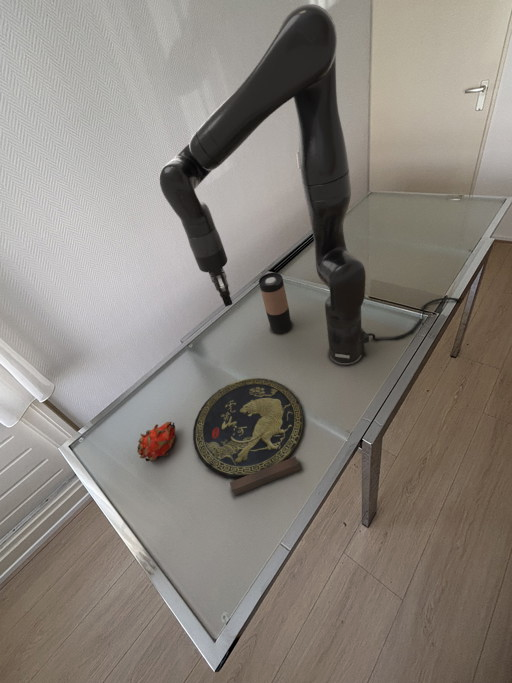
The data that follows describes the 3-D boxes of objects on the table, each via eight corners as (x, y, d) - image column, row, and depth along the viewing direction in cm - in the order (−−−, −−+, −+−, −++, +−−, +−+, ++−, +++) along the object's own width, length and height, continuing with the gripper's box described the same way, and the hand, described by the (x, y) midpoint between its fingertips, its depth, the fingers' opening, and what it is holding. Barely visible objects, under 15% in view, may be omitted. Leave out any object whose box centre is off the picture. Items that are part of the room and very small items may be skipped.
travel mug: (271, 321, 116) (259, 273, 102) (292, 319, 114) (283, 270, 100) (269, 335, 110) (256, 287, 97) (291, 333, 108) (281, 284, 95)
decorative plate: (176, 472, 78) (208, 377, 99) (179, 475, 79) (210, 381, 100) (298, 481, 70) (305, 376, 91) (299, 485, 72) (306, 380, 92)
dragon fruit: (145, 469, 85) (179, 437, 92) (154, 471, 78) (191, 437, 85) (125, 444, 84) (162, 414, 91) (133, 444, 77) (171, 412, 84)
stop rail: (297, 462, 75) (295, 456, 73) (300, 470, 74) (298, 464, 72) (233, 487, 74) (229, 482, 72) (235, 495, 73) (231, 490, 71)
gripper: (227, 253, 73) (247, 311, 85) (216, 233, 83) (235, 288, 94) (197, 265, 73) (220, 322, 84) (189, 243, 83) (211, 297, 94)
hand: (228, 304), depth 89 cm, fingers closed
